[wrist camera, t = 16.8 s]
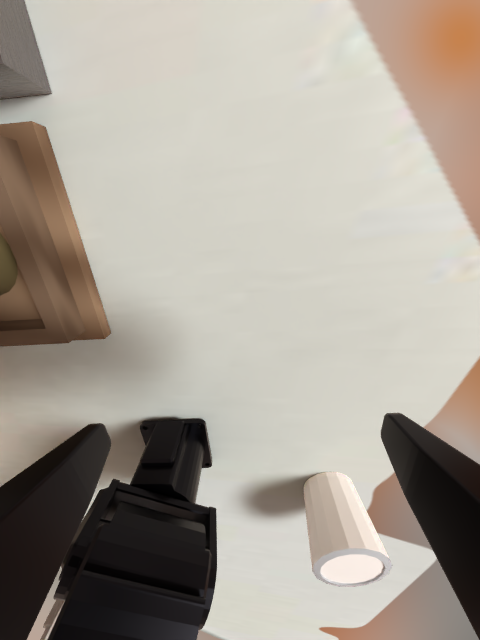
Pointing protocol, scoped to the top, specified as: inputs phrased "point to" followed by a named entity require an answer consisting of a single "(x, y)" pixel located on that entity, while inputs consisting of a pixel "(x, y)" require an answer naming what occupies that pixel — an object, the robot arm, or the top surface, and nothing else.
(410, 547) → the top surface
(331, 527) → the shot glass
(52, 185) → the wooden serving tray
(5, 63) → the button housing
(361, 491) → the top surface
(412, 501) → the robot arm
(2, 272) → the cork
